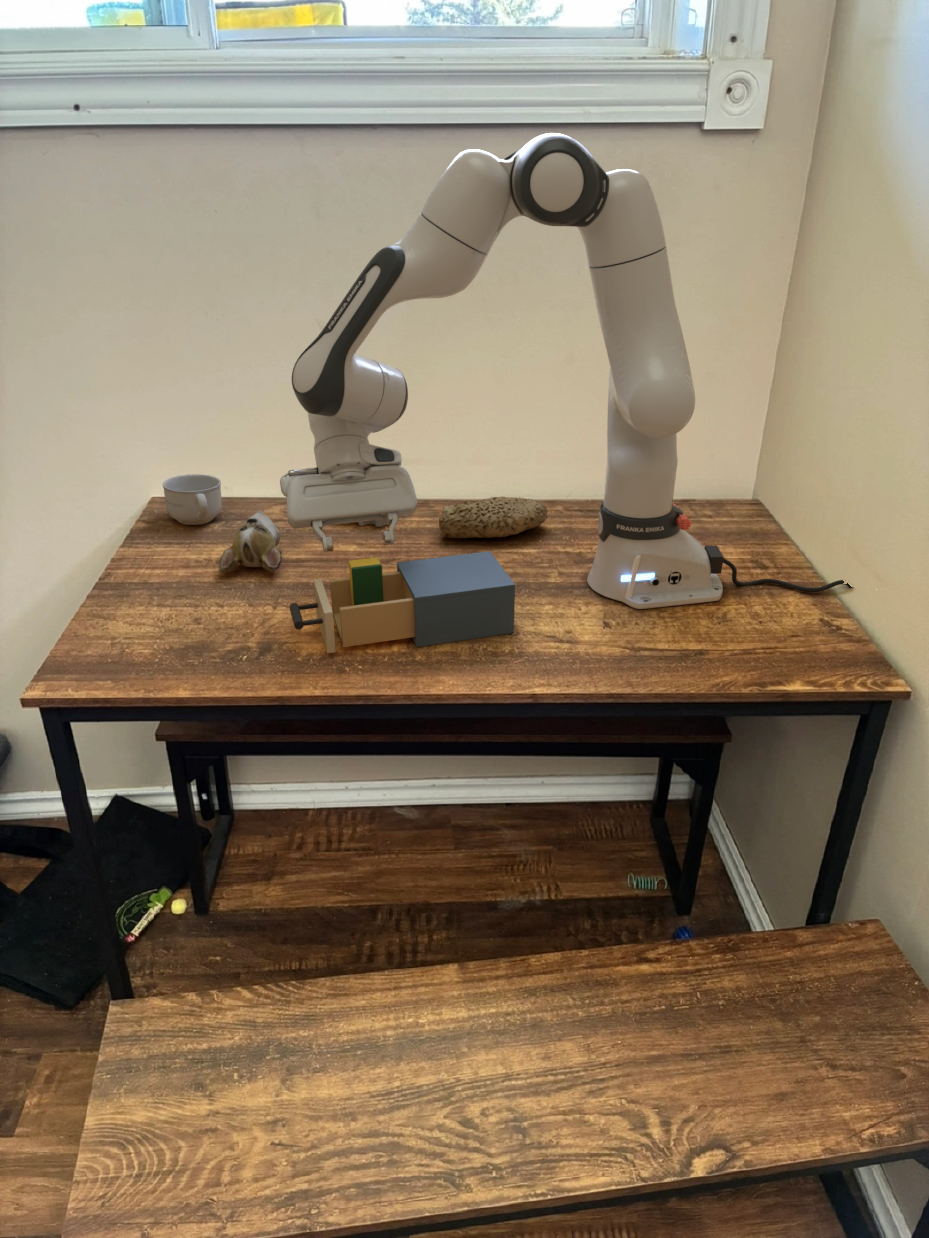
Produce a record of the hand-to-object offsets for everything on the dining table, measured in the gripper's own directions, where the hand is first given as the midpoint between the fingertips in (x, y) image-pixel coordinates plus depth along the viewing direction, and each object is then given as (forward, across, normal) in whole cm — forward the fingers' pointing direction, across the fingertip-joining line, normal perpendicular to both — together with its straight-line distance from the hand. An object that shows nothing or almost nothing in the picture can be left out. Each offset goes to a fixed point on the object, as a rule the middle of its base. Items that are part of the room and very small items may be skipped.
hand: (359, 546), depth 135 cm
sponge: (-9, +30, +26) cm, 41 cm away
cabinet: (+13, +13, +4) cm, 19 cm away
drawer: (+12, -2, +3) cm, 13 cm away
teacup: (-24, -24, +41) cm, 53 cm away
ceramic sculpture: (-8, -15, +25) cm, 30 cm away
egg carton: (-18, +8, +35) cm, 41 cm away
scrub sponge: (+10, 0, +4) cm, 11 cm away
